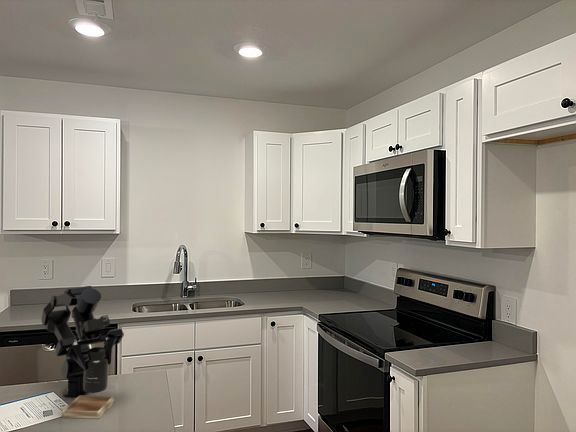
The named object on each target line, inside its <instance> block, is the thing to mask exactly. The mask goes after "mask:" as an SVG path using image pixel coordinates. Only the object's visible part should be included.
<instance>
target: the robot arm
mask: <svg viewBox="0 0 576 432" xmlns="http://www.w3.org/2000/svg"><path fill="white" fill-rule="evenodd" d="M101 298H102V293H101V292H100V291H99V290H97V289H96V288H93V287H92V285H84V286H78V287H69V288H66V289H65V290H64V291H63V293H61V294H55V295H52V296H50V300H49V302H48V303H47V305H46V306H44V307H43V310H42V314H41V324H42V326H43V327H44V328H45V329H46V330H47V331H48V332H51V333H54V335H55V336H56V338H57V341H58V342H57V344H56V347H55V353H56V357H62V356H65V359H64V362H63V364H62V366H61V368H60V371H61V376H62V377H63V378H65V380H67V390H66V391H65V392H64V393H63V394H62V397H75V398H77V397H78V396H79V395H84V396H86V394H88V393H87V392H85V391H84V390H83V376H84V370H86V369H87V367H86V363H85V360H86V359H87V358H88V350H89V349H90V347H89V346H90V345H95V344H99V343H103V348H105V353H106V354H105V357H107V358H108V362H109V363H108V366H109V365H111V363H112V353H113V352H112V351H113V347H114V346H116V345H118V344H120V342H121V341H122V339H123V338H124V335H125V334H124V331H123V329H121V328H119V327H118V328H114V329H109V330H108V331H107V334H105V335H100V334H102V333H103V330H105V328H106V327H108V326H110V324H111V321H110V318H109V315H108V314H105V315H104V314H103V315H102V316H100V318H95V316H94V313H93V312H95V311H96V309H97V307H98V305H99V303H100V301H101ZM58 307H66V308H64V309H56V310H54V309H55V308H58ZM70 307H73V309H72V310H70ZM70 317H71V318H72V319H73V321H74V326H75V334H77V336H78V339H77V338H76V336H75V334H74V333H73V331H72V329H71V327H70V326H69V322H70Z"/></svg>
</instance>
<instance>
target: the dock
mask: <svg viewBox="0 0 576 432" xmlns="http://www.w3.org/2000/svg"><path fill="white" fill-rule="evenodd" d="M114 403H115V396H114V395H79V396H78V397H75V398H74V400H73V401H71V402H70V403H69V404H68V405H67V406H66V407H65V408H64V409H62V410H61V411H60V413H61V419H62V418H63V419H99V420H100V419H101V417H102V416H103V415H105V413H106V412H107V411H108V410H109V409H110V407H112V405H113V404H114Z"/></svg>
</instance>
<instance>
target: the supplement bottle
mask: <svg viewBox="0 0 576 432" xmlns="http://www.w3.org/2000/svg"><path fill="white" fill-rule="evenodd" d="M103 347H104V346H103ZM103 347H101V346H97V347H95V346H94V347H91V348H89V350H88V358H87V359H86V360H85V363H86V367H87V369H86V370H84V376H83V390H84V391H85V392H87V393H86V394H97V393H101V392H104V391H105V390H107V388H108V383H109V382H108V381H109V364H108V363H109V362H108V358H107V357H105V354H106V353H105V348H103Z"/></svg>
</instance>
